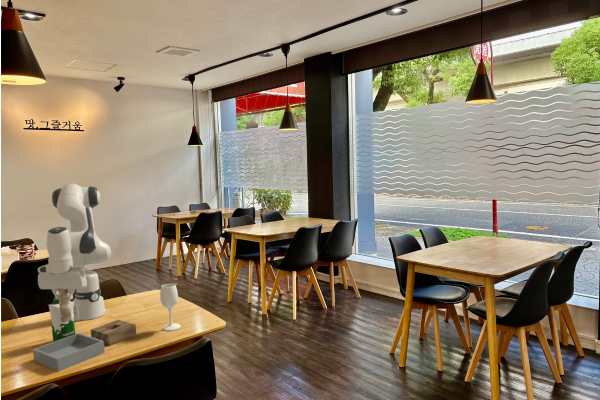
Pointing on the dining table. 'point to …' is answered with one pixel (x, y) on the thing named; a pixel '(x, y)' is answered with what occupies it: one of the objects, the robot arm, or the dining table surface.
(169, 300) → the wineglass
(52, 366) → the tray
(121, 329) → the socket block
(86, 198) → the robot arm
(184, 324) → the dining table surface
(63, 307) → the dowel
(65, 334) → the milk carton
